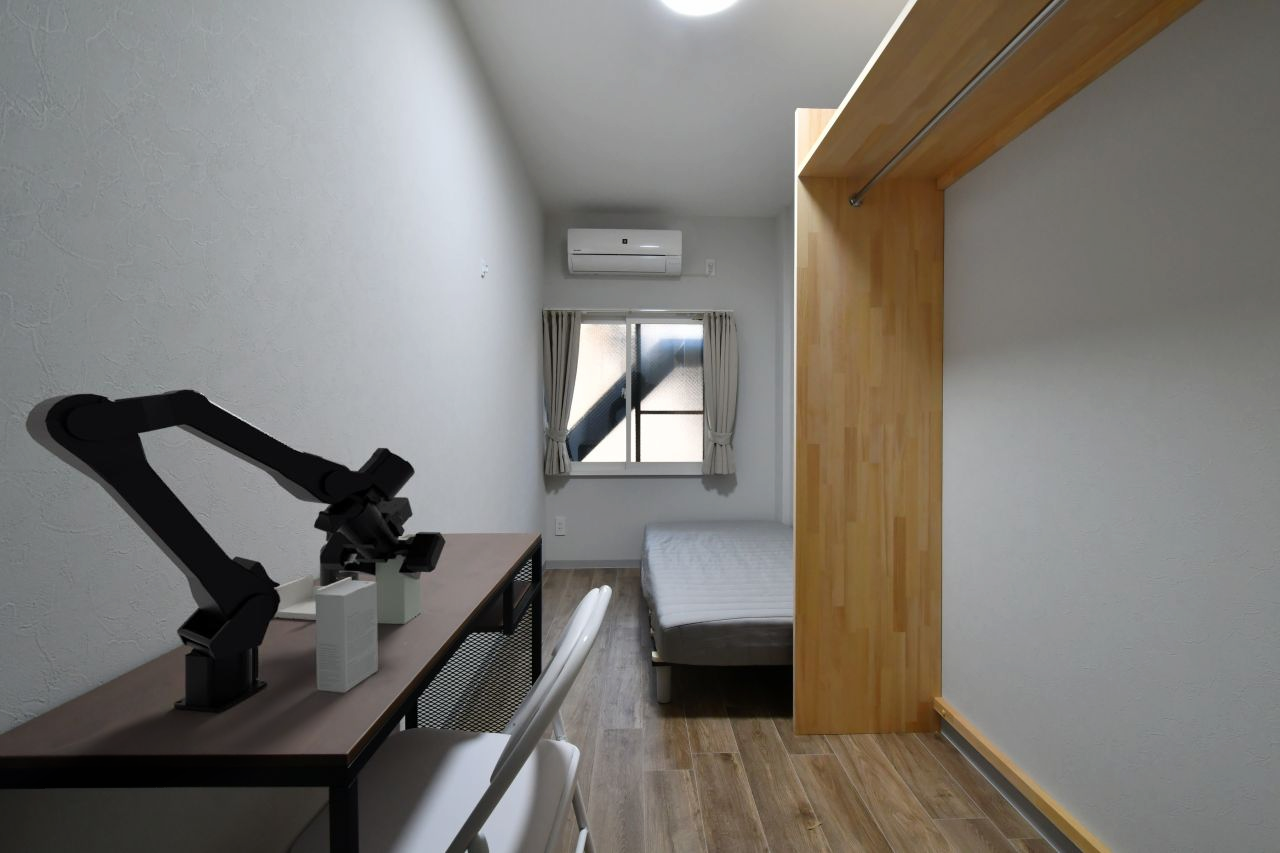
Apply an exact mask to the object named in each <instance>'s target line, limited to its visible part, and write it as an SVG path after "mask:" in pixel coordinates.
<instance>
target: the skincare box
mask: <svg viewBox="0 0 1280 853" xmlns="http://www.w3.org/2000/svg"><path fill="white" fill-rule="evenodd" d="M315 599H316V620H315V650H316V651H315V653H316V656H315V658H316V659H315V660H316V661H315V662H316V689H317V691H323V692H332V693H333V692H334V693H343V694H344V693H347V692H348V691H349V690H351V689H353V688H354V687H356V686H357V685H358V684H360V683H362V682H363V681H364V680H366V679H367V678H369V677H370V676H372V675H373V674H374V673H375V674H376V673H377V671H378V670H379V662H378V661H379V646H378V623H377V583H376V581H371V580H370V581H368V580H359V581H356V580H350V581H347V582H345V583H343V584H340V585H338V586H335V587H332V588H330V589H327V590H325V591H322V592H320V593H317V594H316V595H315Z"/></svg>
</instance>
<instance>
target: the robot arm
mask: <svg viewBox="0 0 1280 853" xmlns="http://www.w3.org/2000/svg"><path fill="white" fill-rule="evenodd" d="M173 427H177V428H180V430H182V431H185V432H187V433H189V434H191V435H193V436H195V437H197V438H199V439H201V440H202V441H205V442H207V443H209V444H210V445H212V446H215V447H217V448H219V449H221V450H222V451H225V452H227V453H228V454H231V455H232V456H234V457H237V458H238V459H241V460H243V461H244V462H246V463H248V464H250V465H253V466H254V467H257V468H258V469H260V470H262V471H264V472H266V473H267V474H268V475H269V476H271V477H272V478H273V480H274V481H275V482H276V483H277V484H278V486H279V487H281V488H282V489H284V490H285V491H287V492H288V493H289V494H291V496H293V497H294V498H296V499H298V501H302V502H308V503H315V504H324V505H328V506H327V507H326V508H325V509H324V510H320V511H319V512H318V517H317V518H316V519H315V521H314V524H313V527H314V529H317V530H319V531H322V532H325V533H326V532H328V533H330V534H332V535H331V537H330V539H329V540H328V542H327V541H326V543H325V544H326V545H325V544H324V545H325V547H324V549H323V551H322V552H321V554H320V553H319V564H320V563H321V565H322V566H323V567H324V568H325V569H333V570H341V569H342V568H343V567H344V565H345V564H346V565H345V567H344V570H345V571H349V572H355V573H359V574H361V575H367V576H373V577H376V562H377V563H387V561H388V560H395V559H396V557H397V555H401V557H402V558H403V559H404V560H403V563H402V565H401V568H400V570H399V573H401V574H404V575H406V576H408V577H411V578H413V579H416V580H418V579H419V578H420V579H421V576H422V575H421V574H422V573H431V572H433V571H434V570H436V567H437V565H438V562H439V560H440V558H441V554H442V553H443V549H444V547H445V544H446V542H447V541H446V539H445V538H444V537H443V535H442V533H441V532H440V531H419V532H417V533H415V534H414V535H413V536H409V537H408V539H407V540H399V539H398V538H400V537H403V535H404V534H405V531H406V529H405V528H404V527H403V526H404V525H405V523H406V522H407V521H408V520H409V519H410V518H411V517H413V514H414V513H413V510H412V506H411V503H410V500H409V498H408V497H406V496H403V497H402V496H399V497H396V496H397V494H398V493H399V492H400V491H401V490H402V489H403V488H404V486H405V485H406V484H407V483H409V480H410V479H411V478H412V477H413V476H414V475H415V472H416V471H415V469H414V467H413V465H412V464H411V463H410V462H409V460H405V458H402V457H401V456H400V455H397V454H396V453H393V452H392V451H391V450H390V449H389V448H388V447H378V448H376V450H375V451H374V452H373V453H372V454H371V457H370V458H369V459H368V460H367V461H366V462H365V463H364V464H362V466H361V467H360V468H359V469H358V470H351V469H350V468H349V467H348V466H347V465H345V464H344V463H340V462H338V461H335V460H333V459H331V458H326V457H324V456H321V455H317V454H313V453H310V452H307V451H303V450H300V449H297V448H295V447H293V446H291V445H290V444H288V443H286V442H284V441H283V440H281V439H279V438H277V437H275V436H273V435H271V434H270V433H268V432H267V431H264V430H263V429H261V428H259V427H257V426H255V425H254V424H252V423H250V422H249V421H247V420H245V419H244V418H242V417H240V416H238V415H237V414H234V413H232V411H229V410H227V408H224V407H222V406H221V405H219V404H217V403H215V402H214V401H211V400H210V399H209V398H208V397H206V395H205V394H203V393H202V392H200V391H198V390H195V389H189V388H187V389H176V390H175V389H174V390H173V389H172V390H168V391H165V392H163V393H159V394H158V393H157V394H149V395H142V396H134V397H125V398H117V399H112V398H110V396H109V397H108V396H104V395H100V394H95V393H75V394H73V393H72V394H64V395H57V396H54V397H53V396H52V397H49V398H45V399H43V400H42V401H40V402H38V403H37V404H36V405H34V406H33V408H32V409H31V410H30V411H29V412H28V415H27V418H26V421H25V428H26V432H28V434H29V435H30V437H31V439H32V440H33V441H35V443H36V444H38V445H40V446H41V447H42V448H44V449H45V450H47V451H48V452H49V453H51V454H53V455H54V456H55V457H57V458H58V459H60V460H61V461H62V462H63V463H65V464H66V465H68V466H70V467H71V468H73V469H74V470H77V471H78V472H80V473H81V474H83V475H85V476H86V477H88V478H90V479H91V480H93V481H94V482H96V483H97V484H99V485H100V486H101V488H102V489H103V490H104V491H105V492H106V493H107V494H108V495H109V496H110V497H111V498H112V499H113V500H114V502H116V504H118V506H120V508H121V510H123V511H124V512H125V513H126V514H127V515H128V516H129V517H130V519H131V520H132V521H133V522H135V524H136V525H137V526H138V527H139V528H140V529H141V530H142V531H143V532H144V533H145V535H146V536H148V538H149V539H150V540H151V541H153V543H154V544H155V545H156V546H157V547H158V548H159V549H160V550H161V552H162V553H163V554H165V556H166V557H168V559H169V560H170V561H171V562H172V563H173V564H174V566H176V567H177V569H178V570H180V572H181V574H183V575H184V576H185V577H186V580H187V582H188V586H189V588H190V592H191V595H192V598H193V599H194V601H195V603H196V605H197V609H196V610H195V611H193V613H192V614H191V615H190V616H189V617H188V618H187V619H186V620H185V621H184V622H183V623H182V624H181V625H180V626H179V627H178V629H177V630H176V634H177V635H178V637H179V640H180V642H181V643H182V645H184V646H189V647H190V648H192V649H191V651H190V652H189V653H186V654H184V661H185V662H184V668H185V669H184V674H185V675H184V676H185V677H184V678H185V679H184V680H185V681H184V682H185V683H184V685H185V686H184V688H185V690H184V691H185V692H184V693H185V694H184V695H185V696H184V697H183V698H180V699H178V700H176V701H175V702H173V708H175V709H184V710H196V711H204V712H211V713H212V712H215V713H217V712H223V711H225V710H226V709H228V708H230V707H232V706H234V704H237V703H239V702H240V701H242V700H244V699H245V698H248V697H249V696H251V695H252V694H254V693H256V692H258V691H260V690H262V689H264V688H265V687H267V686H268V680H262V679H261V680H260V679H258V678H259V647H260V646H262V644H263V641H264V639H265V636H266V633H267V630H268V628H269V625H270V622H271V621H272V620H273V618H275V617H274V616H275V614H276V612H277V610H278V606H279V603H280V601H281V600H280V596H279V594H278V592H277V590H276V589H275V588H276V587H279V586H281V584H280V583H279V582H276V581H275V580H273V579H272V578H271V577H270V576H269V574H268V573H267V571H266V568H265V567H264V565H263V563H261V562H260V561H257V560H253V559H249V558H245V557H240V556H237V555H236V556H234V557H233V558H231V557H230V556H229V555H228V554H227V553H226V552H225V550H224V549H223V548H222V547H221V546H220V545H219V544H218V543H217V541H216V540H215V539H214V538H213V537H212V535H211V534H210V533H209V532H208V531H207V530H206V529H205V528H204V526H203V525H202V524H201V523H200V522H199V520H198V519H197V518H196V517H195V516H194V514H192V512H191V511H190V510H189V509H188V508H187V506H185V504H184V503H183V502H182V501H181V500H180V499H179V498H178V496H177V495H176V494H175V493H174V492H173V491H172V490H171V488H170V487H169V486H168V484H166V483H165V481H164V480H163V479H162V478H161V477H160V475H159V474H158V473H157V472H156V471H155V470H154V469H153V467H152V466H151V465H150V463H149V462H148V458H147V456H146V453H145V449H144V445H143V441H142V439H141V436H140V435H139V434H143V433H148V432H152V431H153V432H154V431H159V430H163V429H168V428H173ZM343 562H344V563H345V564H344V563H343Z"/></svg>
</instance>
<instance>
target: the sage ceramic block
mask: <svg viewBox="0 0 1280 853" xmlns="http://www.w3.org/2000/svg"><path fill="white" fill-rule="evenodd" d="M408 538H409V537H408ZM408 538H407V537H405V538H404V537H399V538H398V539H399V540H407V539H408ZM403 560H404V559H403V558H402V557H401V555H397V557H396V559H395V560H388V561H387V563H377V562H376V576H375V582H376V583H377V624H395V625H398V624H399V625H405V624H407V623H408V622H410V621H411V620H413V619H415V618H416V617H418V616H419V615H420V614H421V612H422V611H421V607H422V606H421V601H422V600H421V598H422V597H421V591H422V590H421V577H420V578H419V579H418V580H416V579H413V578H411V577H408V576H406V575H404V574H401V573H399V570H400V568H401V565H402V563H403ZM419 613H420V614H419ZM418 614H419V615H418ZM415 616H416V617H415Z"/></svg>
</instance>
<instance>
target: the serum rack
mask: <svg viewBox="0 0 1280 853" xmlns="http://www.w3.org/2000/svg"><path fill="white" fill-rule="evenodd" d="M350 580H352V577H348V578H345V579H343V580H340V581H338V582H335V583H333V584H330V585H328V586H320V585H314V575H313V574H311V575H310V574H309V575H306V576H304V577H301V578H298V579H295V580H292V581H290V582H287V583H284V584H280V586H279V587H275V589H276V590H277V592H278V594H279V596H280V600H281V601H280V603H279V606H278V610H277V612H276V614H275V616H274V618H277V617H279V618H281V619H293V618H294V619H296V620H297V619H298V620H307V621H309V620H310V621H312V620H313V621H316V599H315V595H316V594H317V593H320V592H322V591H325V590H327V589H330V588H332V587H335V586H338V585H340V584H343V583H345V582H347V581H350ZM279 618H278V619H279ZM294 619H293V620H294Z"/></svg>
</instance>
